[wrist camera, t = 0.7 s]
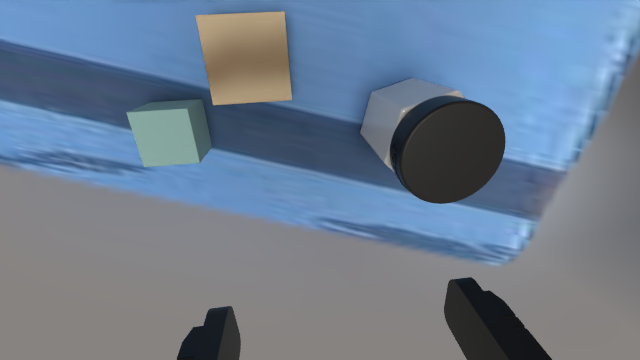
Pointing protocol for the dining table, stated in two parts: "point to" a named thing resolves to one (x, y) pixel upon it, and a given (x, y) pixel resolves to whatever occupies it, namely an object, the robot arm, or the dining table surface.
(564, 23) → the dining table surface
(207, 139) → the teal cube
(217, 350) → the robot arm
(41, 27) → the dining table surface
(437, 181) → the jar
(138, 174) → the dining table surface
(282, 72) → the base block
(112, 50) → the dining table surface
